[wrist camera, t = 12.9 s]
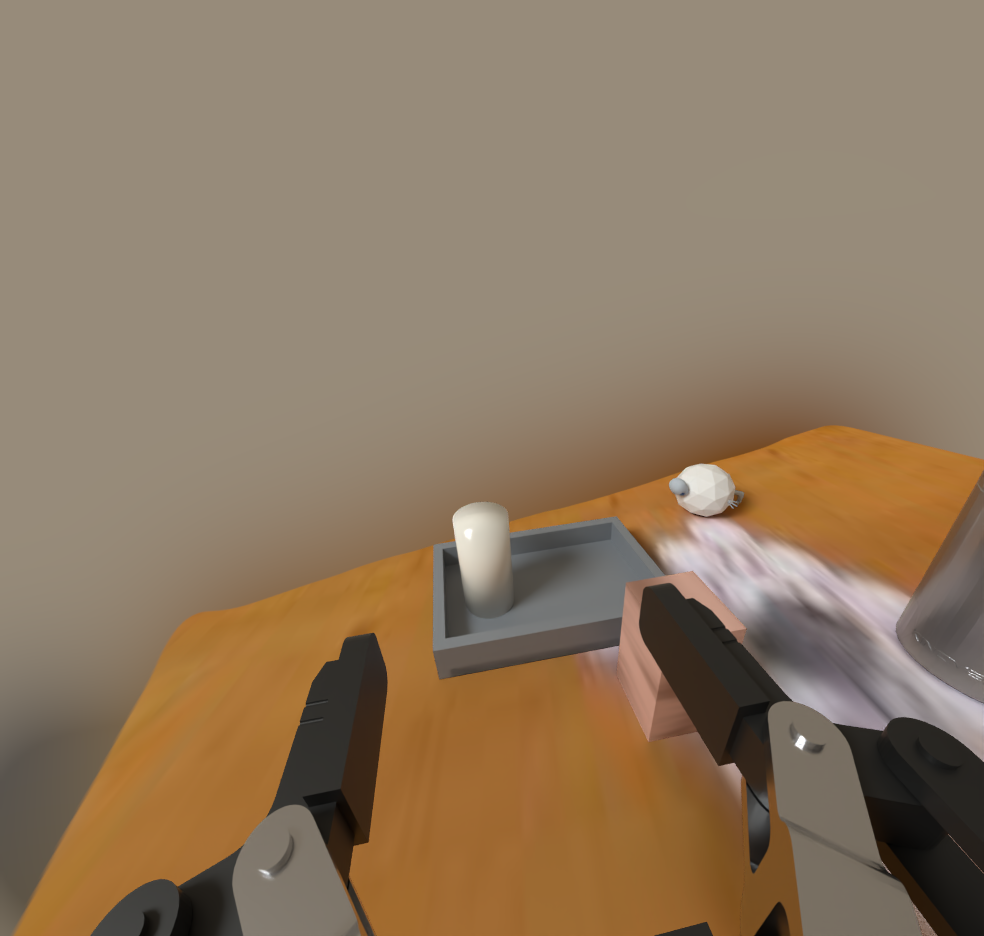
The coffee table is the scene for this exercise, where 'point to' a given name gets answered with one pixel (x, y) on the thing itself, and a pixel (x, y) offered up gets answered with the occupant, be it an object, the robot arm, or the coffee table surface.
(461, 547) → the cream cylinder
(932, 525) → the coffee table surface
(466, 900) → the coffee table surface
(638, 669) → the coral block
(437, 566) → the tray
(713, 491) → the alien figurine
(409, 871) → the coffee table surface
